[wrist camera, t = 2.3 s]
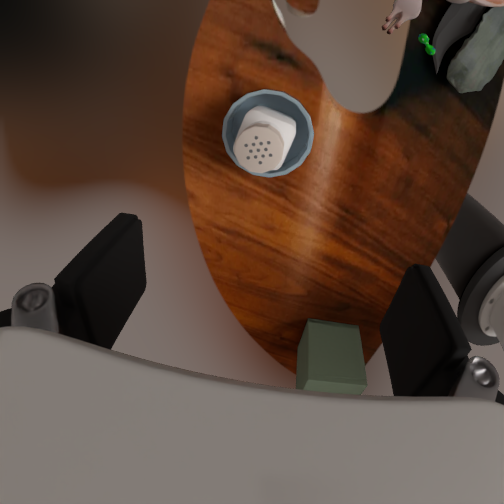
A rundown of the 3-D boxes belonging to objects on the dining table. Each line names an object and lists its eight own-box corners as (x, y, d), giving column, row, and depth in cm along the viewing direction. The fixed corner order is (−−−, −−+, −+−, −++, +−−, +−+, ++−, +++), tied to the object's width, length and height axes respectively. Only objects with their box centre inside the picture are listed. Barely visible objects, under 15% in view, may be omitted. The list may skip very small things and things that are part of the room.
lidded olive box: (358, 325, 38) (367, 385, 30) (344, 354, 41) (348, 411, 33) (308, 317, 38) (307, 379, 30) (297, 347, 42) (294, 406, 33)
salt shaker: (242, 140, 28) (219, 166, 20) (257, 102, 26) (240, 110, 18) (281, 156, 28) (275, 188, 20) (298, 118, 26) (299, 134, 18)
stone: (430, 65, 21) (460, 101, 22) (442, 66, 19) (473, 105, 20) (501, -16, 12) (526, 18, 14) (514, -18, 10) (539, 19, 12)
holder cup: (317, 97, 25) (320, 99, 22) (303, 173, 29) (304, 184, 26) (235, 84, 25) (227, 85, 23) (225, 160, 29) (218, 169, 27)
